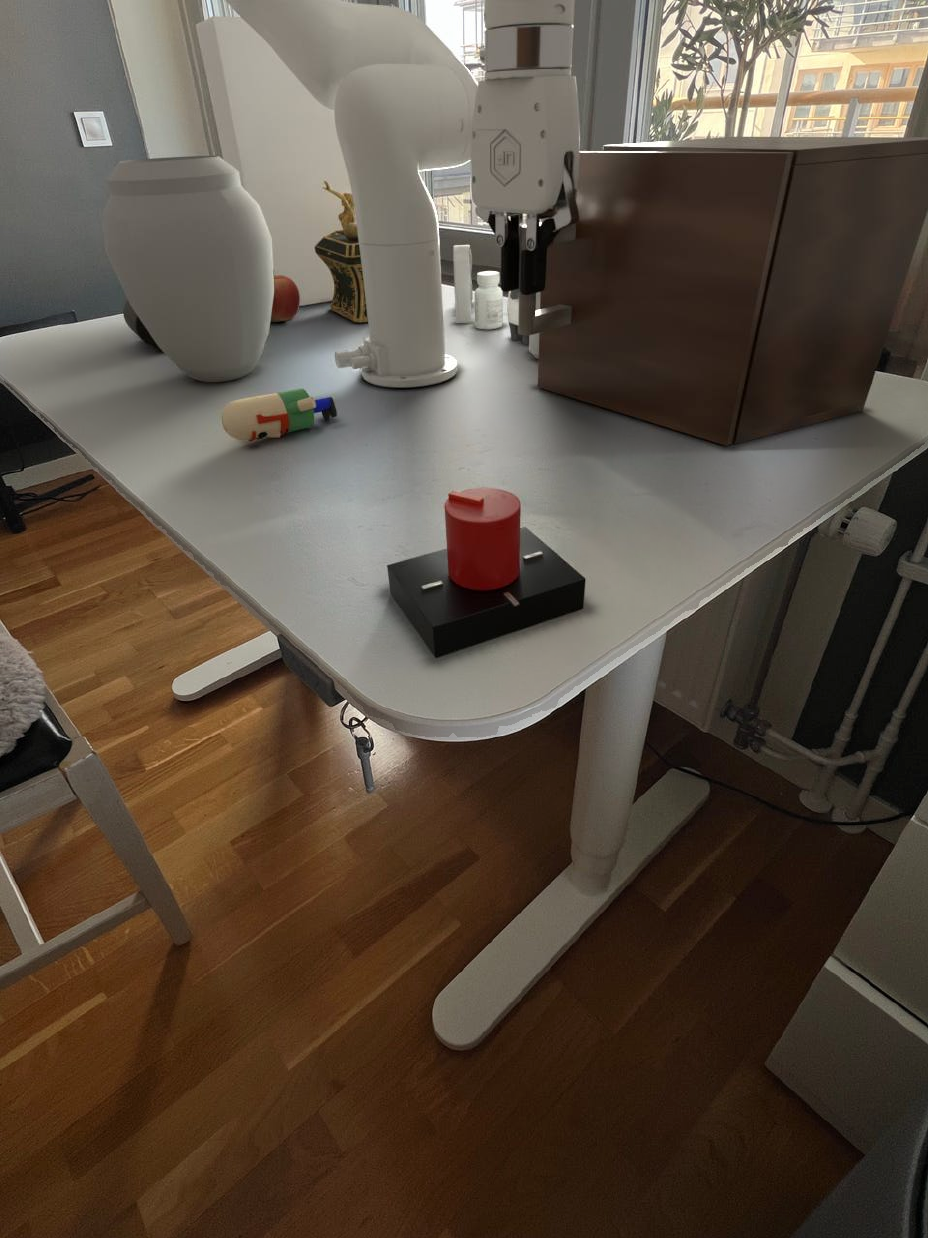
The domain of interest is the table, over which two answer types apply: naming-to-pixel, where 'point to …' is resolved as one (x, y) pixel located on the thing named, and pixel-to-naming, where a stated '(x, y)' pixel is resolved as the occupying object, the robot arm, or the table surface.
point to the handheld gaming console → (462, 283)
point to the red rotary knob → (483, 537)
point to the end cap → (138, 326)
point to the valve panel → (484, 597)
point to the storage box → (277, 148)
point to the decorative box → (345, 263)
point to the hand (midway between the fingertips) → (523, 289)
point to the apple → (284, 299)
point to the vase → (192, 261)
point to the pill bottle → (488, 301)
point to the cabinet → (826, 271)
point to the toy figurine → (274, 414)
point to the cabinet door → (659, 285)
